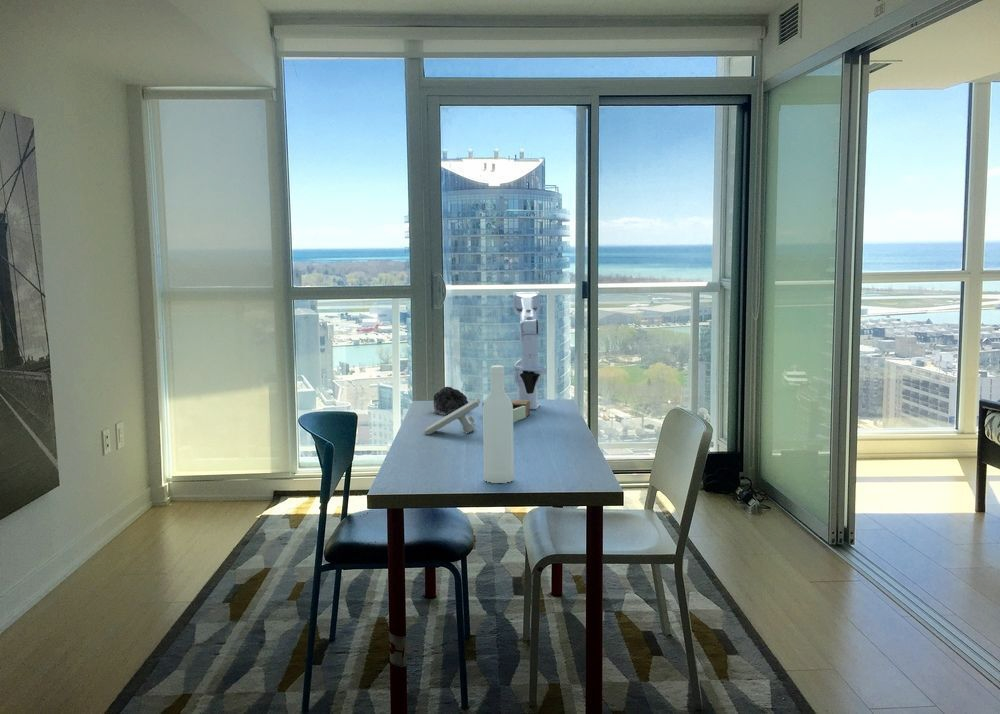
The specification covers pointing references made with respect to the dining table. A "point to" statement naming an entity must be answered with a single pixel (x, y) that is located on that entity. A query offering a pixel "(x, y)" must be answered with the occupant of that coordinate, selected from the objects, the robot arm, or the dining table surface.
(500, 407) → the bottle
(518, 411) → the door
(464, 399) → the crystal cluster
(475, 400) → the door handle
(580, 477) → the dining table surface
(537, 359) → the robot arm
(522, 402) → the cabinet
